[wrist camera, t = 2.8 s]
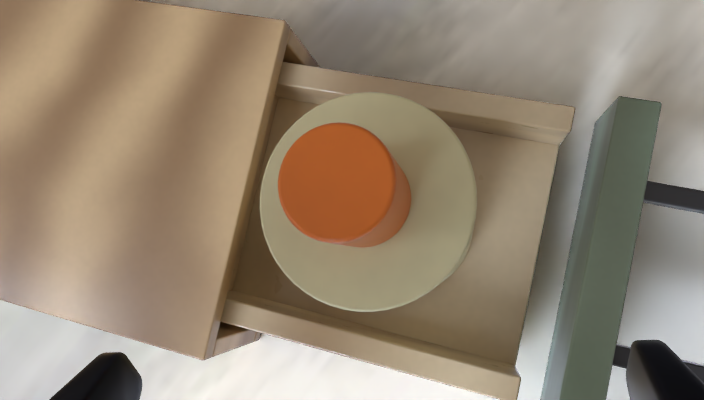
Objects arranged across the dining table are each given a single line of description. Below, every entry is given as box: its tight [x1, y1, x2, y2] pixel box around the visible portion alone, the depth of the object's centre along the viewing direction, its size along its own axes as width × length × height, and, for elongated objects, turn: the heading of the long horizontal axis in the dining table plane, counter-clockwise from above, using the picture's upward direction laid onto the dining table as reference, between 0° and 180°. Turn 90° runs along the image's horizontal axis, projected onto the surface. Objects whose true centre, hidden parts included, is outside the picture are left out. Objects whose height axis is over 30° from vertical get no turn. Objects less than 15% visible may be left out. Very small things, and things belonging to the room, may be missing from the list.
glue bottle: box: [260, 92, 477, 312], centre depth 14 cm, size 5×5×10 cm
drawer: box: [220, 62, 704, 400], centre depth 18 cm, size 17×10×3 cm, turn 77°
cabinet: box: [0, 0, 320, 360], centre depth 21 cm, size 14×11×5 cm
